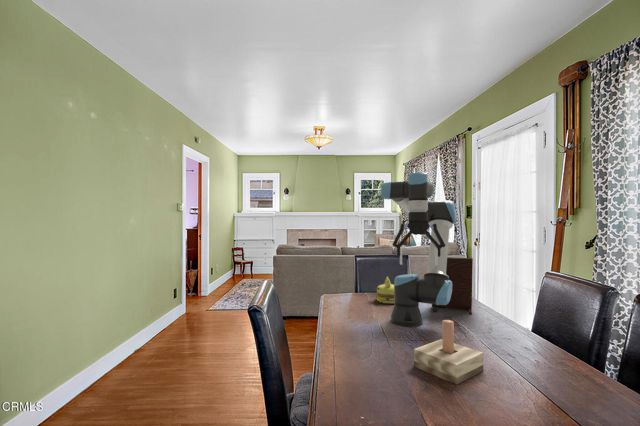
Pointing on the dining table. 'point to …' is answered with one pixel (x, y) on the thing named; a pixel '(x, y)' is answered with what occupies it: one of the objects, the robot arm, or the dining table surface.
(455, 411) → the dining table surface
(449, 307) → the dark brown wooden cabinet
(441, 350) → the bore block
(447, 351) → the pin
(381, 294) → the toy
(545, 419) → the dining table surface
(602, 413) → the dining table surface
